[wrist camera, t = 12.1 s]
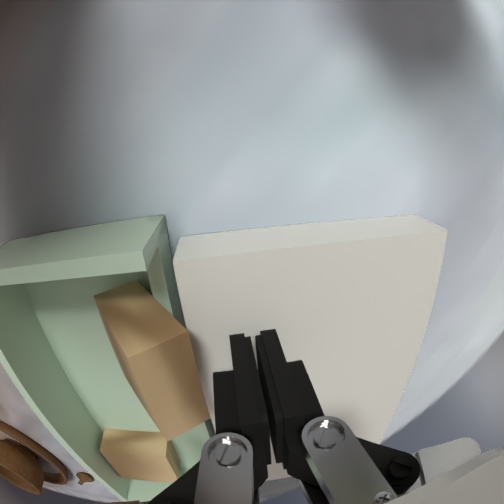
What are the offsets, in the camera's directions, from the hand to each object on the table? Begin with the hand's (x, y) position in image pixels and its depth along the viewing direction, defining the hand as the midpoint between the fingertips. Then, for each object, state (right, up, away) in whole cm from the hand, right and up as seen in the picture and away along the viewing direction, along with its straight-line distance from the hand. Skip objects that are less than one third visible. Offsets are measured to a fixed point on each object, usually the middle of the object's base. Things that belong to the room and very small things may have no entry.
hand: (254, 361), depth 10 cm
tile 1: (-3, 0, 0) cm, 3 cm away
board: (+3, -3, +5) cm, 7 cm away
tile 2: (-8, -10, +4) cm, 13 cm away
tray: (-7, -4, +4) cm, 9 cm away
